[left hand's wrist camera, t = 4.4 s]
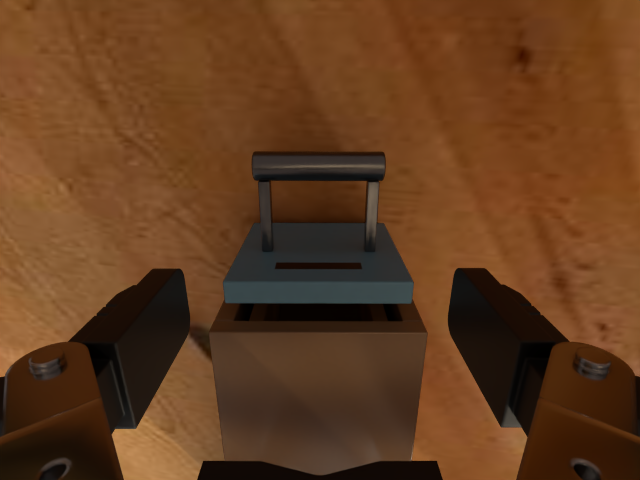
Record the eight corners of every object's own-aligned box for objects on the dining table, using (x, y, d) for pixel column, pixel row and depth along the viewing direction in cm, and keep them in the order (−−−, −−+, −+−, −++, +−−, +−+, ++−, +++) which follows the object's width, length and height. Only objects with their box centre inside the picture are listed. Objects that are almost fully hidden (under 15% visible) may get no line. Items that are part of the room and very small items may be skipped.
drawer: (248, 140, 24) (210, 164, 15) (389, 141, 24) (426, 164, 15) (268, 444, 33) (250, 559, 25) (369, 444, 33) (385, 559, 25)
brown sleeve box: (249, 245, 27) (207, 332, 17) (388, 245, 27) (428, 332, 17) (264, 461, 35) (242, 607, 25) (372, 461, 35) (393, 607, 25)
